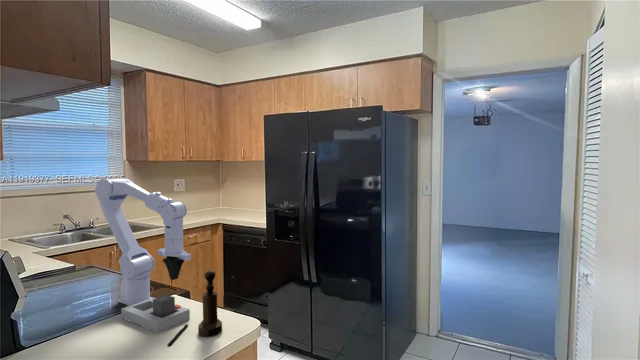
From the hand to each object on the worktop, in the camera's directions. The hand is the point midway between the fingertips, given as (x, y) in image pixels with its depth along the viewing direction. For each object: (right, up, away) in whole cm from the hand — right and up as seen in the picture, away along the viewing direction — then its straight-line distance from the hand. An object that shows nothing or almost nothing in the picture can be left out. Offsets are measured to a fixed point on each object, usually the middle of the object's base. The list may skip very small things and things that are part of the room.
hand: (174, 278), depth 119 cm
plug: (+2, -10, -11) cm, 15 cm away
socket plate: (-2, -10, -9) cm, 13 cm away
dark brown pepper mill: (+17, -11, -17) cm, 27 cm away
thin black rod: (+9, -11, -19) cm, 24 cm away
